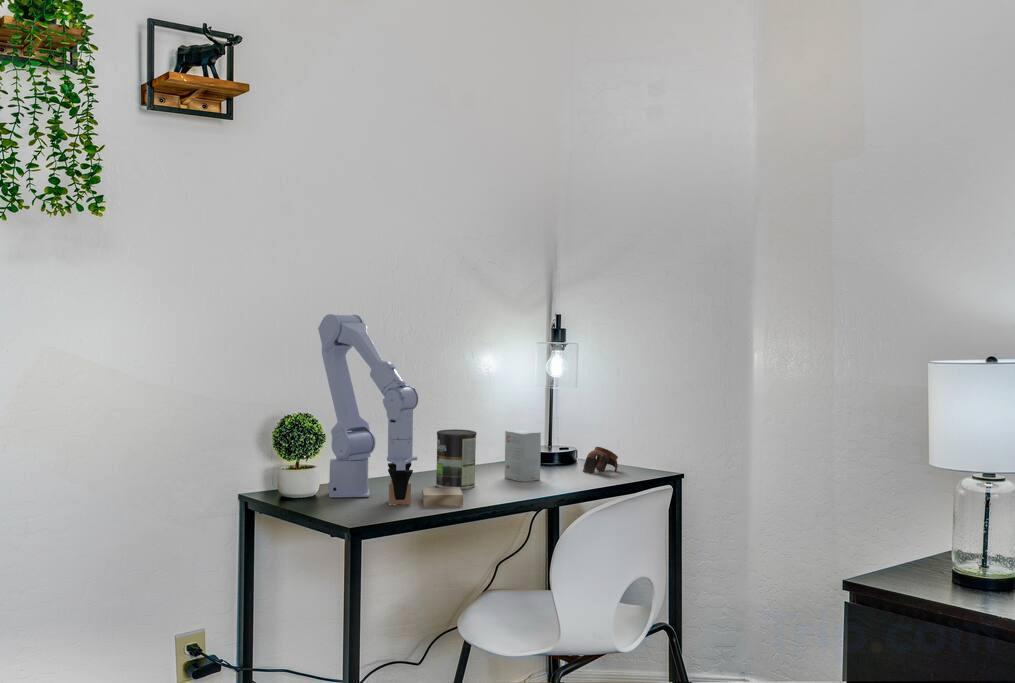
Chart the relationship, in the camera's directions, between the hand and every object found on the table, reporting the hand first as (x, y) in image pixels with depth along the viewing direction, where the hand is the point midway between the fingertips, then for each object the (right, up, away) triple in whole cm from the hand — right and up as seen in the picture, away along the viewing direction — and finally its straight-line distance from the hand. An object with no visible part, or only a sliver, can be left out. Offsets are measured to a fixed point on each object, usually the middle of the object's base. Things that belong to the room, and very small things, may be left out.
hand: (399, 496), depth 203 cm
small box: (+29, -2, +34) cm, 45 cm away
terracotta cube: (0, -2, 0) cm, 2 cm away
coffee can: (+12, -2, +22) cm, 25 cm away
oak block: (+10, -2, +2) cm, 10 cm away
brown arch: (+52, -2, +47) cm, 70 cm away
